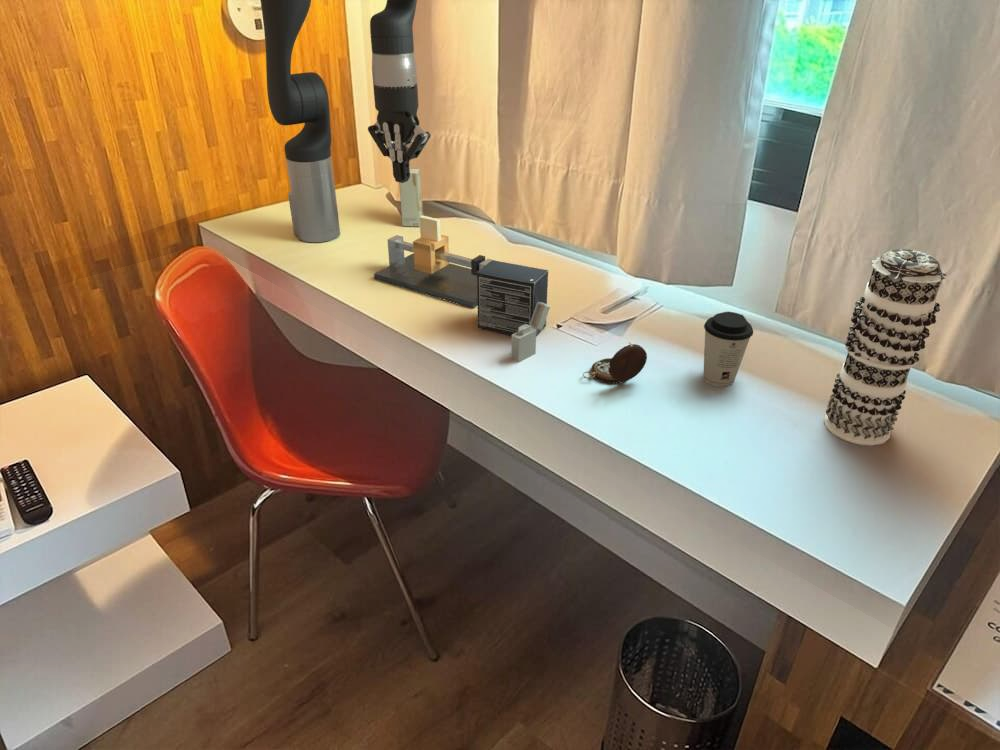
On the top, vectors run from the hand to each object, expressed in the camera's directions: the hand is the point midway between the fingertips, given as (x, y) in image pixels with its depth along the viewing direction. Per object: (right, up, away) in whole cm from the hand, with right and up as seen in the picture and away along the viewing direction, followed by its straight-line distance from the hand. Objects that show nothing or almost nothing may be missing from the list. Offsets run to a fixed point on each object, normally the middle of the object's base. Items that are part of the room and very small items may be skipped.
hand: (402, 181), depth 133 cm
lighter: (+23, -32, -17) cm, 43 cm away
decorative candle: (+67, -43, -33) cm, 86 cm away
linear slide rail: (+7, -18, +6) cm, 20 cm away
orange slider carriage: (+5, -15, +6) cm, 17 cm away
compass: (+35, -36, -23) cm, 55 cm away
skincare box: (-2, -1, +34) cm, 34 cm away
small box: (+20, -28, -9) cm, 35 cm away
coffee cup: (+51, -36, -23) cm, 67 cm away
